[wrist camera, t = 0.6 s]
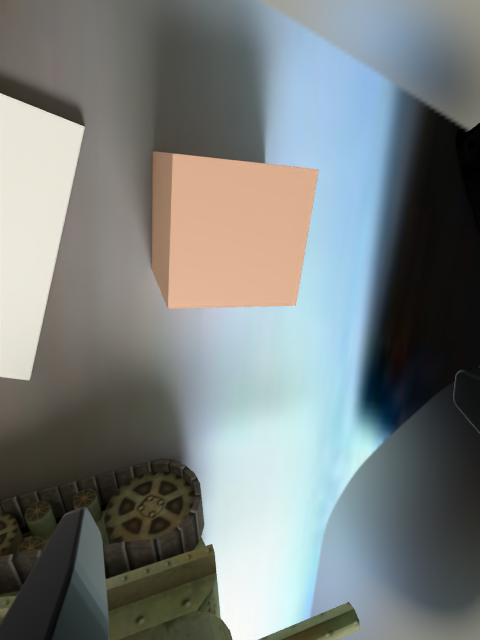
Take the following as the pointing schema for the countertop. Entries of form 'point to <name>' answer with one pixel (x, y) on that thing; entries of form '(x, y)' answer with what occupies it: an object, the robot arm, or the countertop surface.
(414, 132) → the countertop surface
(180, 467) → the toy
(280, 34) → the countertop surface
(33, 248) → the board
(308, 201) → the block
